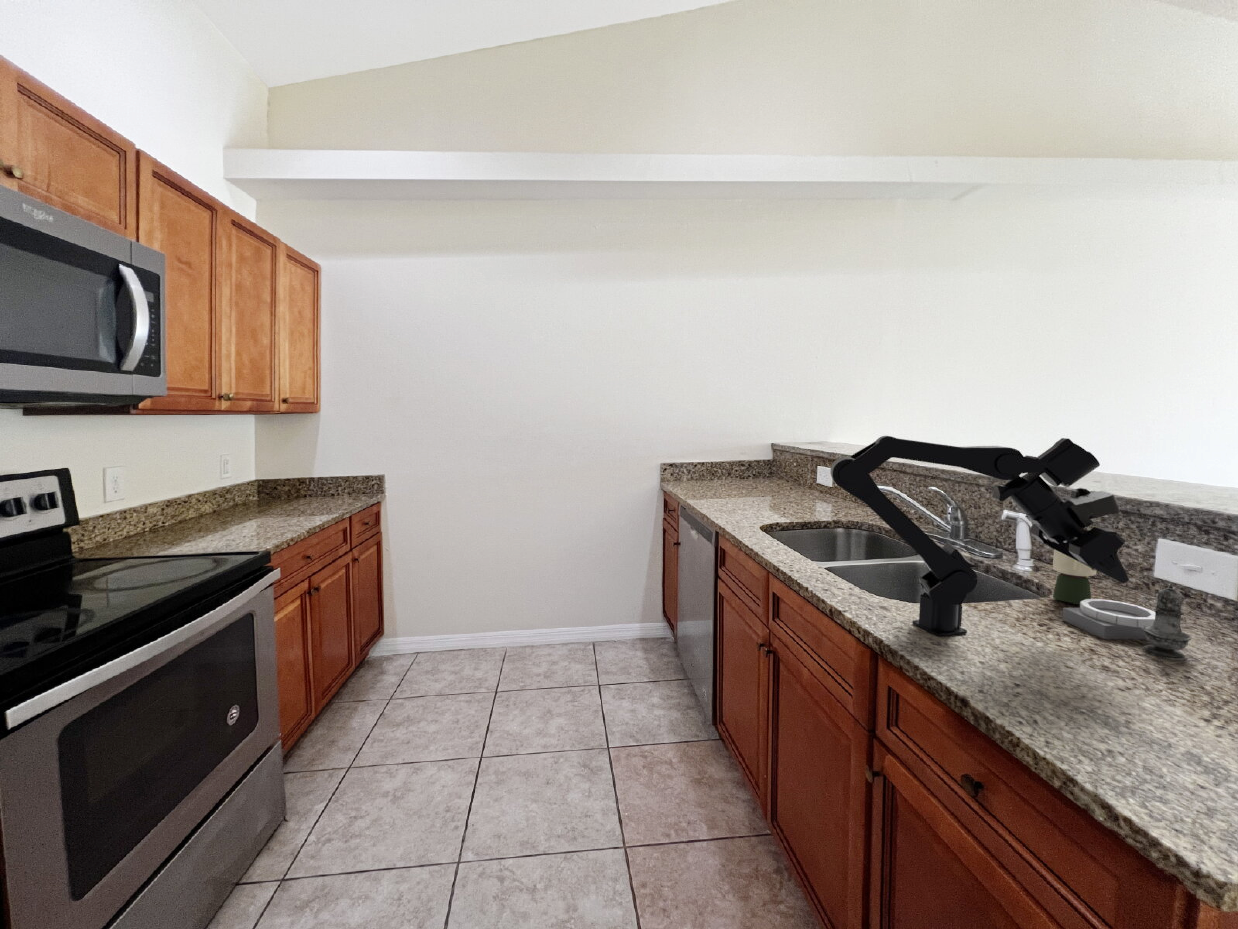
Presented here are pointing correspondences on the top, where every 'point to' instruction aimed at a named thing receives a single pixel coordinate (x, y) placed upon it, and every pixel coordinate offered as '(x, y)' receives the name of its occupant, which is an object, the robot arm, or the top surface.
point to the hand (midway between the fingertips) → (1109, 573)
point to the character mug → (1071, 579)
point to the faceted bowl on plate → (1110, 618)
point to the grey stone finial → (1167, 627)
